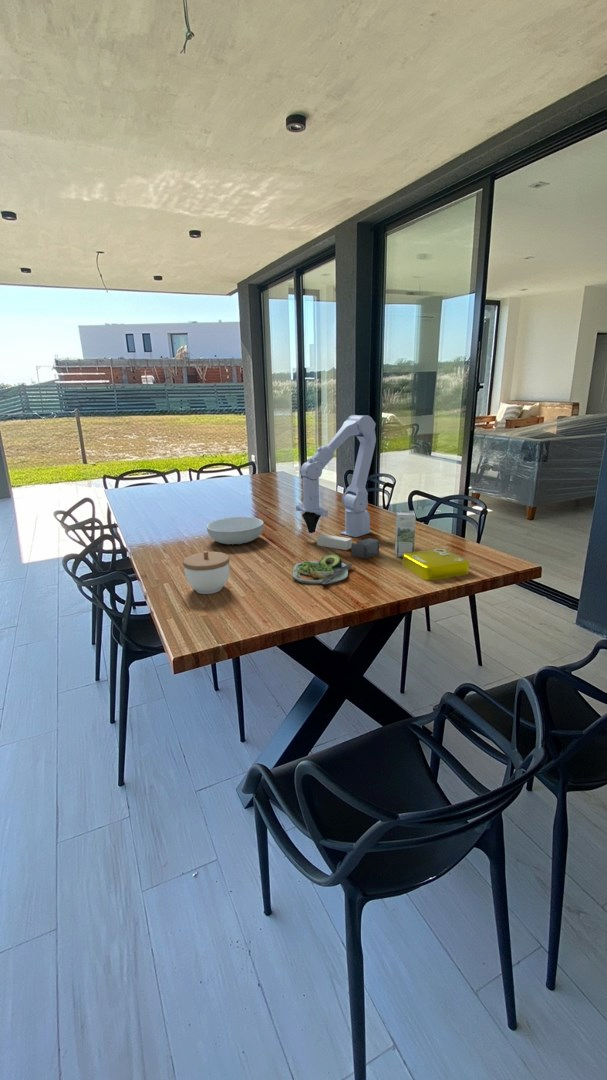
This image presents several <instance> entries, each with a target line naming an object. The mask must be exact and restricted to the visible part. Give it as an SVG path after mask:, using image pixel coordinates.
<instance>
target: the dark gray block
mask: <svg viewBox="0 0 607 1080" xmlns="http://www.w3.org/2000/svg"><path fill="white" fill-rule="evenodd" d="M350 549H351V552H350V553H351V556H354V557H358V558H361V559H366V560H367V559H368V558H372V557H375V556H376V555H379V554H380V540H379V539H374V538H371V537H370V538H364V539H363V540H360V541H358V542H356V543H354V542H352V543H351V548H350Z"/></svg>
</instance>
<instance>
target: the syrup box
mask: <svg viewBox="0 0 607 1080" xmlns="http://www.w3.org/2000/svg"><path fill="white" fill-rule="evenodd" d="M416 515H417V514H415V511H414V510H396V513H395V536H394V537H395V538H394V539H395V542H394V543H395V546H394V552H395V556H396V557H397V558H403V554H404V553H409V552H415V543H416V542H415V540H416V539H415V537H416V520H417V518H416Z"/></svg>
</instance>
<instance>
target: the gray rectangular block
mask: <svg viewBox="0 0 607 1080" xmlns="http://www.w3.org/2000/svg"><path fill="white" fill-rule="evenodd" d="M316 538H317V539H316V542H317V543H316V545H317V546H321V547H327V548H331V549H339V550H345V551H348V550H349V549H351V543H353V542H352V539H353V538H348V537H342V536H337V535H331V534H325V533H322V534H319V535H317V537H316Z"/></svg>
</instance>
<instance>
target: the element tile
mask: <svg viewBox="0 0 607 1080" xmlns="http://www.w3.org/2000/svg"><path fill="white" fill-rule="evenodd" d="M469 566H470V560H468V559H466V558H464V557H463V556H461V555H458V554H456V553H454V552H451V551H449V550H447V549H445V548H432V549H431V548H430V549H426V550H424V549H423V550H418V551H414V552H409V553H404V554H403V557H402V568H404V569H406V570H408V571H409V572H410V573H412V574H414V575H416V576H418V577H419V578H420V579H422V580H425V581H435V580H438V581H439V580H443V579H448V578H454V576H456V577H460V576H459V575H462V576H466V575H465V574H467V573H468V574H469V569H470V567H469ZM468 574H467V575H468Z"/></svg>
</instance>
